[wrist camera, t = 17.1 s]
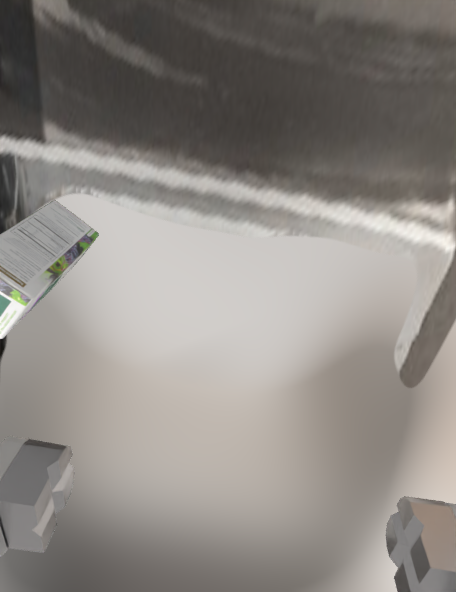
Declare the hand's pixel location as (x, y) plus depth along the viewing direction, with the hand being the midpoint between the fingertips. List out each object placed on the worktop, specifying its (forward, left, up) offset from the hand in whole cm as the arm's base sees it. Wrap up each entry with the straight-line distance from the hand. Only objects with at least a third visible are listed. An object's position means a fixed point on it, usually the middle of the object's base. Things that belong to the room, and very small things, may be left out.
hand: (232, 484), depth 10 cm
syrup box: (-20, -10, -34) cm, 41 cm away
